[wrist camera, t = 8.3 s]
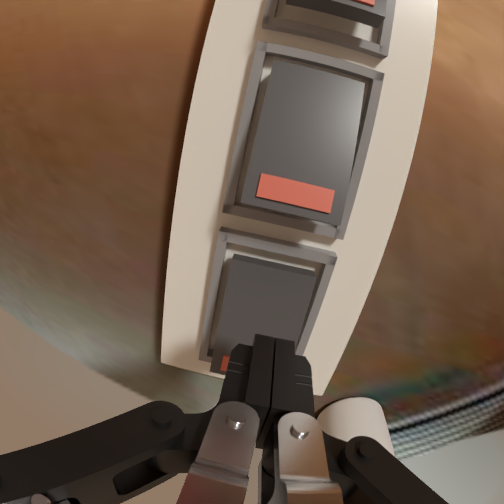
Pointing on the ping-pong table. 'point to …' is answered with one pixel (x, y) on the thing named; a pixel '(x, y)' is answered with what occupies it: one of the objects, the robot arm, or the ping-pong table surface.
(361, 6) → the rocker
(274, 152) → the rocker
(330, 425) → the can
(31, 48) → the ping-pong table surface
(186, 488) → the robot arm
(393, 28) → the switch panel
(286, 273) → the rocker
